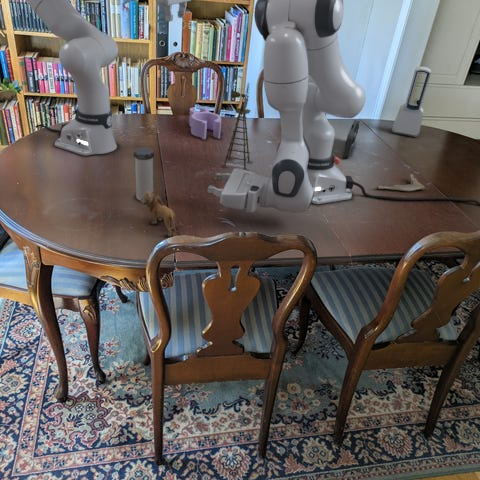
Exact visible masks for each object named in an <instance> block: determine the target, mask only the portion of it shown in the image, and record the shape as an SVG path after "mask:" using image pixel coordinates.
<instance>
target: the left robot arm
mask: <svg viewBox="0 0 480 480" xmlns="http://www.w3.org/2000/svg"><path fill="white" fill-rule="evenodd" d="M25 1H26V3H27V5H29V6H30V8H31V9H32V10H33V12H34V13H35V14H36V16H37V17H38V18H39V19H40V20H41V22H42V23H43V24H44V26H46V28H47V29H48V30H49V31H50V32H51V34H53V35H54V36H55V37H57V38H60V39H61V40H64V41H65V42H66V43H65V44H63V45H62V46H61V47H60V49H59V52H58V59H59V62H60V65H61V67H62V68H63V69H64V70H65V71H66V72H67V73H68V74H69V75H70V77H71V79H72V82H73V83H74V87H75V92H76V101H77V108H76V109H75V110H74V111H71V115H72V116H74V115H75V116H74V118H73V119H72V120H71V121H69V122H66V123H63V124H61V127H60V129H54V128H50V127H48V126H46V125H44V124H39V123H38V124H37V125H35V127H34V128H35V129H38V128H39V127H40V128H44V129H46V130H48V131H50V132H55V133H59V135H60V137H59V138H57V139H56V140H55V142H54V146H55V147H57V148H59V149H62V150H65V151H69V152H72V153H74V154H78V155H80V156H84V157H85V156H86V157H87V156H92V155H105V154H108V153H111V152H114V151H115V150H116V149H117V148H118V145H117V142H116V140H115V135H114V131H113V111H112V109H111V97H110V88H109V87H108V85H107V84H105V83H104V80H103V78H102V74H101V70H102V69H103V68H106V67H108V66H110V65H111V64H112V63H113V62H114V61H115V60H117V57H118V55H119V47H118V44H117V41H116V40H115V39H114V38H113V37H112V36H111V35H109V34H107V33H104V32H103V31H101V30H100V29H99V28H98V27H96V26H95V25H93V24H92V23H91V22H90V21H89V20H88V19H86V18H85V17H84V16H83V15H82V14H81V13H80V12H79V11H78V10H77V9H76V8H75V6H74V5H73V3H71V2H70V0H25ZM155 1H156V4H157V5H159V6H163V12H164V16H165V17H164V18H165V22H172V21H173V18H174V15H173V14H172V13H173V12H172V9H173V6H174V5H178V11H177V18H179V19H183V18H185V15H186V13H185V12H186V9H187V4H188V2H191V1H192V0H155Z"/></svg>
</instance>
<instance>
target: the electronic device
mask: <svg viewBox="0 0 480 480" xmlns="http://www.w3.org/2000/svg"><path fill="white" fill-rule="evenodd" d="M418 73H424V74H426V76H425V79H424V83H423V86H422V89H421V92H420V97H419V99H418V101H417V102H418V103H417V105H412V104H410V101H411V97H412V94H413V92H414V91H413V90H414V87H415V84H416V80H417V77H418ZM431 75H432V69H431V68H429V67H426V66H416V67H415V68H414V72H413V76H412V79H411V83H410V86H409V90H408V94H407V97H406V100H405V103H403V104H402V105H400V107H399V109H398V111H397V114H396V117H395V119H394V122H393V124H392V128H391V132H392V133H393V134H396V135H402V136H406V137H411V138H412V137H413V138H417V137H418V136H419V135H420V132H421V127H422V122H423V117H424V108H423V107H422V104H423V101H424V98H425V94H426V91H427V87H428V85H429V81H430V78H431ZM402 133H404V134H402ZM407 134H409V135H407ZM412 135H414V136H412Z"/></svg>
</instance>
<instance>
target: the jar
mask: <svg viewBox="0 0 480 480" xmlns="http://www.w3.org/2000/svg"><path fill="white" fill-rule="evenodd" d="M134 160H135V161H134V163H135V168H134V169H135V193H136V194H135V195H136V196H135V197H136V200H138V201H140V202H142V201H141V199H143V198H144V196H145V195H146V191H153V192H154V157H153V158H151V159H148V160H141V159H137V158H135V157H134Z"/></svg>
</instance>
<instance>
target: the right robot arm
mask: <svg viewBox="0 0 480 480" xmlns="http://www.w3.org/2000/svg"><path fill="white" fill-rule="evenodd" d="M344 11H345V9H344V0H257V1H256V2H255V7H254V12H253V13H254V22H255V23H254V24H255V27H256V29H257V30H258V32H259V34H260V35H261V36H262V38H263V40H264V50H263V68H262V69H263V84H264V92H265V97H266V100H267V104H268V105H269V106H270V108H272V109H273V110H275V111H277V112H278V114H279V123H280V133H281V135H280V141H279V143H278V145H277V148H276V154H275V156H274V157H275V158H274V161H273V164H272V167H271V177H268V176H262V175H257V174H256V173H255V172H254V171H251V170H247V169H246V170H244V168H243V169H242V168H233V170H232V172H231V173H230V172H228V173H227V172H226V173H218V172H217V173H216V174H215V176H214V180H215V181H218V182H221V181H226V183H225V184H224V187H223V188H218V187H216V185H210V184H209V185H208V187H207V191H206V192H207V194H212V195H214V196H216V197H218V198H219V204H220V205H222V206H223V207H226V208H230V209H235V210H245V212H246V213H254V212H255V211H256V210H258V209H260V208H265V209H266V208H267V209H269V208H273V209H276V210H278V211H281V212H287V213H288V212H289V213H295V214H296V213H299V214H300V213H305V212H307V211H308V210H309V208H310V207H311V205H312V204H314V205H321V204H327V203H333V202H340V201H347V200H351V199H352V195H353V193H352V191H351V190H353V188H354V185H355V186H357V187H358V188H359V189H361V193H362V194H363V195H364V196H365V197H366V198H370V199H377V200H390V201H391V200H392V201H453V202H455V201H456V202H463V203H475V204H476V205H478V206H479V207H480V201H479V200H477V199H474V198H458V197H444V196H431V197H429V196H426V197H402V196H401V197H399V196H398V197H397V196H387V195H373V194H369V193H367V192H366V189H365V187H364V186H363V185H362V184H360V183H358V182H356V181H354V179H353V177H352V176H351V175H345V174H344V173H343V172H342V171H341V170H340V169H339V168H338V165H340V164H341V163H342V162H341V158H339V157H338V156H336V155H334V153H332V151H333V148H334V147H333V146H334V142H335V138H336V132H335V129H334V127H333V126H332V124H331V123H330V122H329V120H328V118H327V115H330V116H333V117H335V118H340V119H353V118H355V117H357V116H358V115H359V114H360V113H361V112H362V111H363V108H364V106H365V104H366V91H365V89H364V87H363V86H362V85H361V84H360V83H358V82H357V81H356V80H355V79H354V77H353V76H352V75H351V74H350V72H349V70H348V69H347V67H346V65H345V63H344V61H343V58H342V54H341V51H340V50H341V49H340V44H339V37H338V31H339V30H340V28H341V26H342V22H343V18H344ZM326 114H327V115H326Z"/></svg>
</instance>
